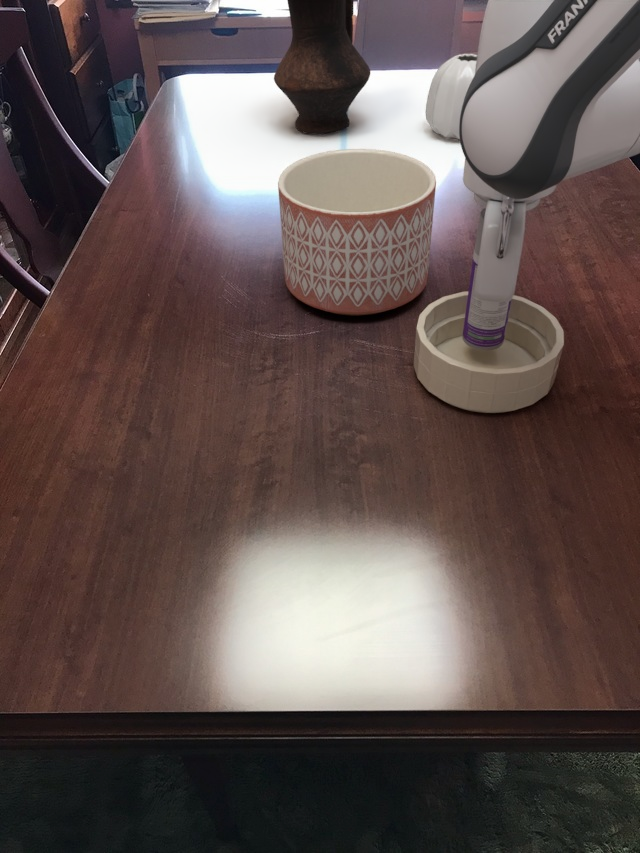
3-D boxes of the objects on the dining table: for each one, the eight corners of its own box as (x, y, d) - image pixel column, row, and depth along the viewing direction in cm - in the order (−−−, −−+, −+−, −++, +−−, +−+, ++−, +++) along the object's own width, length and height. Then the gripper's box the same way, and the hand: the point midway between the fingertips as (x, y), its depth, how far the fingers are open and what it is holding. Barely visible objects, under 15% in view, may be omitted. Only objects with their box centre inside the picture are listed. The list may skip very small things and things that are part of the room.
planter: (256, 294, 93) (245, 187, 83) (340, 238, 104) (339, 138, 94) (375, 342, 84) (378, 229, 74) (452, 275, 95) (465, 169, 85)
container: (473, 322, 81) (491, 200, 71) (510, 335, 79) (534, 211, 69) (454, 342, 78) (470, 218, 68) (493, 355, 76) (515, 229, 66)
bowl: (552, 340, 83) (562, 298, 79) (553, 426, 72) (565, 381, 68) (422, 326, 86) (426, 284, 82) (404, 406, 75) (407, 362, 71)
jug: (346, 150, 129) (346, -41, 109) (260, 137, 135) (245, -46, 115) (387, 114, 143) (394, -62, 123) (307, 103, 149) (301, -65, 129)
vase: (419, 142, 131) (424, 66, 122) (432, 118, 140) (437, 45, 131) (492, 149, 127) (503, 70, 118) (500, 123, 137) (511, 48, 128)
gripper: (546, 217, 57) (518, 351, 66) (546, 129, 72) (523, 250, 81) (469, 211, 58) (452, 344, 68) (484, 125, 73) (469, 245, 82)
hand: (491, 292), depth 74 cm, fingers closed on container, 4 cm apart
